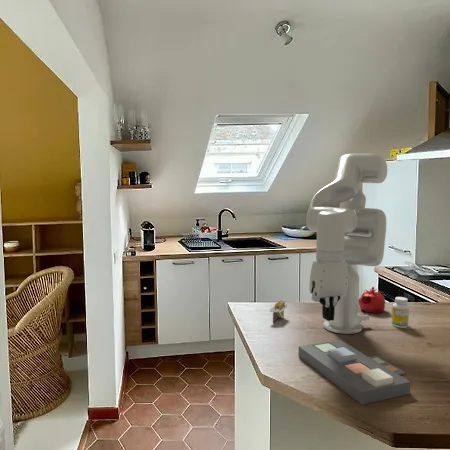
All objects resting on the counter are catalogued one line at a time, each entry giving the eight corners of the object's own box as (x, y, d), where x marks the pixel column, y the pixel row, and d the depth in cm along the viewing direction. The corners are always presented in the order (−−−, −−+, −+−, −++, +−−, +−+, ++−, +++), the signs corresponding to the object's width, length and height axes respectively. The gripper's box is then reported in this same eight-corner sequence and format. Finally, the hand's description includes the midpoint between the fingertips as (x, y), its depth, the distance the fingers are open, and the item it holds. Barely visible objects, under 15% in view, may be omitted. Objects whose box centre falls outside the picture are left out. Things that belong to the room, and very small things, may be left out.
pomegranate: (379, 306, 174) (380, 283, 173) (389, 314, 164) (391, 290, 163) (354, 306, 174) (355, 283, 172) (363, 314, 164) (364, 290, 163)
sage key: (328, 351, 129) (328, 343, 129) (338, 358, 124) (339, 349, 124) (313, 354, 127) (314, 345, 127) (323, 361, 123) (324, 352, 122)
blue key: (343, 356, 122) (343, 347, 122) (354, 363, 118) (355, 354, 117) (328, 359, 121) (328, 349, 120) (339, 366, 116) (339, 356, 116)
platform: (302, 315, 163) (303, 298, 162) (287, 331, 147) (287, 312, 146) (272, 311, 168) (272, 294, 168) (253, 325, 152) (254, 307, 152)
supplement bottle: (405, 329, 149) (406, 301, 148) (389, 325, 152) (390, 298, 151) (410, 325, 153) (412, 298, 152) (394, 321, 156) (396, 295, 155)
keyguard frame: (339, 349, 132) (339, 339, 131) (409, 393, 106) (410, 381, 105) (298, 356, 127) (298, 346, 126) (361, 404, 101) (362, 392, 100)
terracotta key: (359, 372, 116) (359, 362, 116) (372, 380, 112) (372, 370, 111) (343, 375, 114) (344, 365, 114) (355, 384, 110) (356, 373, 109)
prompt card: (376, 357, 126) (376, 355, 126) (405, 374, 116) (405, 371, 116) (362, 360, 124) (362, 357, 124) (389, 377, 114) (389, 374, 114)
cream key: (377, 378, 110) (378, 368, 109) (392, 387, 105) (393, 377, 105) (361, 382, 108) (361, 371, 107) (375, 391, 103) (375, 380, 103)
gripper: (344, 250, 129) (342, 311, 131) (299, 255, 123) (298, 318, 126) (361, 256, 122) (358, 319, 125) (314, 261, 116) (312, 327, 119)
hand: (328, 318), depth 125 cm, fingers closed
